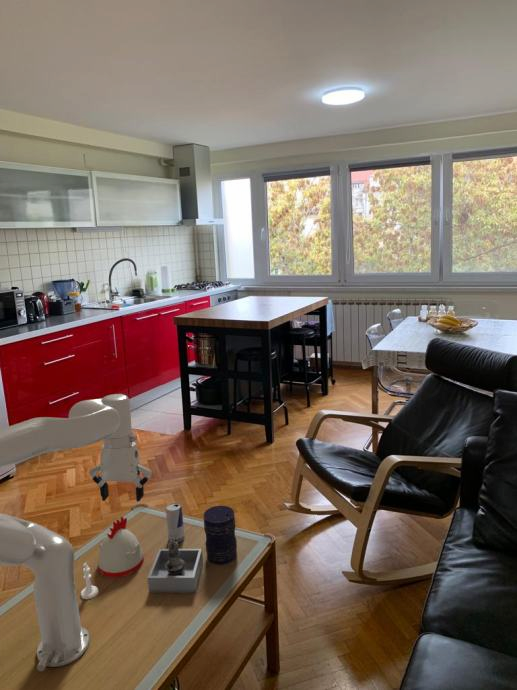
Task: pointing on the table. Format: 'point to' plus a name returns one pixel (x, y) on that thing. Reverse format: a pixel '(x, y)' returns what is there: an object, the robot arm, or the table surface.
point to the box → (176, 584)
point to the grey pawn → (174, 561)
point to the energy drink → (175, 522)
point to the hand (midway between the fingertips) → (122, 498)
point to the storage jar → (220, 535)
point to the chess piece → (88, 585)
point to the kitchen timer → (120, 552)
